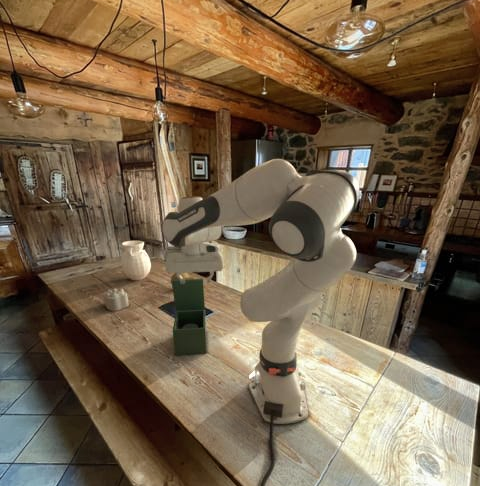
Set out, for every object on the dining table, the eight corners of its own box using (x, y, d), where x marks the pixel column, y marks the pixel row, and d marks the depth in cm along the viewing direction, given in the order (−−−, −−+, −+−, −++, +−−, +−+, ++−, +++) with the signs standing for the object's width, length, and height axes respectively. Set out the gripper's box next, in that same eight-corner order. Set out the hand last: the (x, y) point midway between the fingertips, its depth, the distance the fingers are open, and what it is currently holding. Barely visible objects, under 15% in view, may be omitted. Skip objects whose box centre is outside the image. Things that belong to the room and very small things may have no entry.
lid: (203, 279, 108) (202, 272, 111) (171, 281, 106) (172, 274, 110) (204, 309, 118) (204, 302, 122) (176, 311, 117) (176, 303, 120)
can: (199, 349, 110) (198, 331, 106) (183, 351, 109) (181, 332, 105) (199, 340, 116) (198, 323, 112) (184, 341, 115) (182, 323, 111)
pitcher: (147, 283, 177) (141, 246, 167) (119, 282, 177) (112, 246, 167) (155, 273, 194) (151, 239, 184) (130, 273, 194) (124, 239, 184)
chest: (206, 352, 109) (205, 328, 104) (175, 355, 108) (172, 330, 103) (206, 332, 123) (204, 309, 118) (178, 333, 122) (176, 311, 117)
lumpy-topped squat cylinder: (113, 312, 140) (109, 297, 137) (101, 304, 148) (98, 290, 144) (131, 305, 148) (128, 291, 144) (119, 298, 155) (117, 284, 152)
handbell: (181, 288, 175) (196, 309, 157) (166, 281, 166) (180, 303, 149) (191, 273, 173) (207, 293, 155) (177, 266, 164) (191, 286, 147)
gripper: (161, 249, 87) (165, 287, 93) (223, 247, 90) (224, 284, 95) (163, 244, 93) (168, 280, 99) (222, 242, 95) (223, 278, 101)
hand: (196, 282), depth 97 cm, fingers open, 8 cm apart
